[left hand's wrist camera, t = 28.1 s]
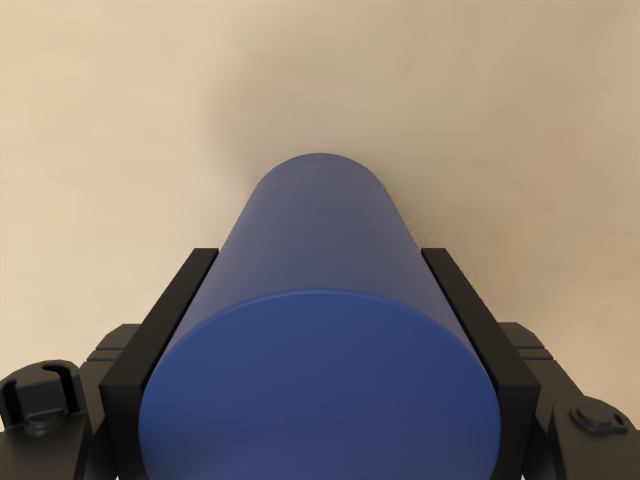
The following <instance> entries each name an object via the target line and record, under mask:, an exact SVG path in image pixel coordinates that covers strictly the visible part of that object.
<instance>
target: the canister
mask: <svg viewBox="0 0 640 480" xmlns="http://www.w3.org/2000/svg"><path fill="white" fill-rule="evenodd" d="M138 433H139V443H140V451H141V455H142V459H143V462H144V466H145V469H146V471H147V473H148V476H149V478H150V480H489V479H490V477H491V475H492V473H493V470H494V468H495V464H496V461H497V457H498V453H499V448H500V439H501V418H500V409H499V405H498V401H497V397H496V392H495V390H494V388H493V386H492V383H491V381H490V379H489V376H488V374H487V372H486V370H485V369H484V367H483V365H482V363H481V361H480V359H479V358H478V356H477V354H476V352H475V350H474V349H473V347H472V345H471V343H470V341H469V340H468V338H467V336H466V334H465V332H464V331H463V329H462V327H461V325H460V323H459V322H458V320H457V318H456V316H455V314H454V312H453V311H452V309H451V307H450V305H449V303H448V302H447V300H446V298H445V296H444V294H443V293H442V291H441V289H440V287H439V285H438V284H437V282H436V280H435V278H434V276H433V275H432V273H431V271H430V269H429V267H428V265H427V264H426V262H425V260H424V258H423V256H422V255H421V253H420V251H419V249H418V247H417V246H416V244H415V242H414V240H413V238H412V237H411V235H410V233H409V231H408V229H407V228H406V226H405V224H404V222H403V220H402V218H401V217H400V215H399V213H398V211H397V209H396V208H395V206H394V204H393V202H392V200H391V199H390V197H389V195H388V193H387V191H386V190H385V188H384V187H383V185H382V184H381V183H380V181H379V180H378V179H377V178H376V177H375V176H374V175H373V174H372V173H371V172H370V171H369V170H367V169H366V168H365V167H363V166H362V165H360V164H358V163H356V162H354V161H352V160H350V159H347V158H344V157H341V156H337V155H332V154H308V155H303V156H299V157H296V158H293V159H290V160H288V161H286V162H284V163H282V164H280V165H278V166H277V167H275V168H274V169H273V170H271V171H270V172H269V173H268V174H267V175H266V176H265V177H264V178H263V179H262V180H261V181H260V183H259V184H258V185H257V187H256V188H255V190H254V191H253V193H252V195H251V197H250V199H249V200H248V202H247V204H246V206H245V208H244V209H243V211H242V213H241V215H240V217H239V218H238V220H237V222H236V224H235V226H234V227H233V229H232V231H231V233H230V235H229V236H228V238H227V240H226V242H225V243H224V245H223V247H222V249H221V251H220V252H219V254H218V256H217V258H216V260H215V261H214V263H213V265H212V267H211V269H210V270H209V272H208V274H207V276H206V278H205V279H204V281H203V283H202V285H201V287H200V288H199V290H198V292H197V294H196V296H195V297H194V299H193V301H192V303H191V305H190V306H189V308H188V310H187V312H186V314H185V315H184V317H183V319H182V321H181V323H180V324H179V326H178V328H177V330H176V332H175V333H174V335H173V337H172V339H171V341H170V342H169V344H168V346H167V348H166V350H165V351H164V353H163V355H162V357H161V359H160V360H159V362H158V364H157V366H156V368H155V369H154V371H153V373H152V375H151V377H150V380H149V382H148V384H147V387H146V389H145V391H144V395H143V399H142V403H141V407H140V411H139V426H138Z"/></svg>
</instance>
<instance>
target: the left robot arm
mask: <svg viewBox="0 0 640 480" xmlns="http://www.w3.org/2000/svg"><path fill="white" fill-rule="evenodd" d="M218 254H219V248H195V249H194V250H193V251H192V253H191V254H190V256H189V257H188V258H187V260H186V261H185V263H184V264H183V266H182V267H181V268H180V270H179V271H178V273H177V274H176V275H175V277H174V278H173V280H172V281H171V283H170V284H169V285H168V287H167V288H166V290H165V291H164V292H163V294H162V295H161V297H160V298H159V299H158V301H157V302H156V304H155V305H154V307H153V308H152V309H151V311H150V312H149V314H148V315H147V316H146V318H145V319H144V321H143V322H142V324H122V325H121V326H119V327H118V328H116V329H115V330H113V331H112V332H110V333H109V334H107V335H106V336H105V337H104V338H103V340H102V341H101V342H100V343H99V344H98V346H97V347H96V350H95V351H93V352H92V353H91V354H90V356H89V357H88V358H87V361H86V362H84V363H83V364H82V365H81V367H80V368H79V369H78V367H77V366H76V365H75V364H73V363H72V362H70V361H65V360H48V361H42V362H38V363H35V364H31V365H28V366H26V367H24V368H21V369H19V370H17V371H15V372H13V373H11V374H10V375H9V376H7V377H6V378H4V379H3V380H1V381H0V416H1V419H2V422H3V425H4V428H5V429H4V431H3V432H0V480H116V478H117V476H118V478H119V480H150V478H149V476H148V473H147V471H146V469H145V466H144V462H143V459H142V455H141V451H140V443H139V433H138V426H139V411H140V407H141V403H142V399H143V395H144V391H145V389H146V387H147V384H148V382H149V380H150V377H151V375H152V373H153V371H154V369H155V368H156V366H157V364H158V362H159V360H160V359H161V357H162V355H163V353H164V351H165V350H166V348H167V346H168V344H169V342H170V341H171V339H172V337H173V335H174V333H175V332H176V330H177V328H178V326H179V324H180V323H181V321H182V319H183V317H184V315H185V314H186V312H187V310H188V308H189V306H190V305H191V303H192V301H193V299H194V297H195V296H196V294H197V292H198V290H199V288H200V287H201V285H202V283H203V281H204V279H205V278H206V276H207V274H208V272H209V270H210V269H211V267H212V265H213V263H214V261H215V260H216V258H217V256H218ZM421 255H422V256H423V258H424V260H425V262H426V264H427V265H428V267H429V269H430V271H431V273H432V275H433V276H434V278H435V280H436V282H437V284H438V285H439V287H440V289H441V291H442V293H443V294H444V296H445V298H446V300H447V302H448V303H449V305H450V307H451V309H452V311H453V312H454V314H455V316H456V318H457V320H458V322H459V323H460V325H461V327H462V329H463V331H464V332H465V334H466V336H467V338H468V340H469V341H470V343H471V345H472V347H473V349H474V350H475V352H476V354H477V356H478V358H479V359H480V361H481V363H482V365H483V367H484V369H485V370H486V372H487V374H488V376H489V379H490V381H491V383H492V386H493V388H494V390H495V392H496V397H497V401H498V405H499V409H500V418H501V439H500V448H499V453H498V457H497V461H496V464H495V468H494V470H493V473H492V475H491V477H490V479H489V480H521V477H522V474H523V476H524V478H525V480H640V430H636V429H635V427H634V426H633V424H632V423H631V421H630V420H629V419H628V417H626V416H625V415H624V414H623V413H621V412H620V411H619V410H618V409H616V408H615V407H613V406H611V405H609V404H607V403H605V402H603V401H601V400H598V399H595V398H591V397H588V396H584V394H583V393H582V392H581V391H580V390H579V388H578V387H577V386H576V385H575V383H574V382H573V381H572V380H571V379H570V377H569V376H568V375H567V374H566V372H565V371H564V370H563V369H562V367H561V366H560V365H559V364H558V363H557V361H556V360H553V356H552V355H551V354H550V353H549V352H548V350H547V349H545V348H544V345H543V344H542V343H541V342H540V340H539V339H538V338H537V337H536V336H535V334H534V333H532V332H531V331H529V330H528V329H526V328H525V327H523V326H521V325H520V324H518V323H517V322H497V321H496V320H495V318H494V317H493V315H492V314H491V313H490V311H489V310H488V308H487V307H486V306H485V304H484V303H483V301H482V300H481V298H480V297H479V296H478V294H477V293H476V291H475V290H474V289H473V287H472V286H471V284H470V283H469V281H468V280H467V279H466V277H465V276H464V274H463V273H462V272H461V270H460V269H459V267H458V266H457V264H456V263H455V262H454V260H453V259H452V257H451V256H450V255H449V253H448V252H447V250H446V249H445V248H421Z"/></svg>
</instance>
